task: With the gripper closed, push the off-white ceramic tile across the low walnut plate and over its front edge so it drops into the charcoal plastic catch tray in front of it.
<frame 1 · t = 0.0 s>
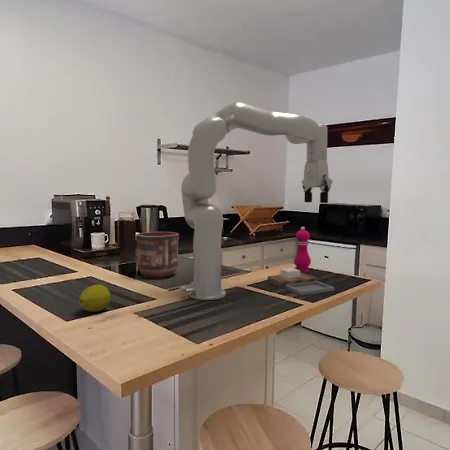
hand: (315, 202, 145), 31 cm above the counter, fingers open, 9 cm apart
pottery: (158, 276, 161), on the counter
lemon: (95, 312, 113), on the counter
catch tray: (309, 290, 136), on the counter
walnut plate: (292, 283, 146), on the counter
tile: (290, 276, 147), point 2 cm above the counter, touching walnut plate
pepper mill: (302, 271, 167), on the counter
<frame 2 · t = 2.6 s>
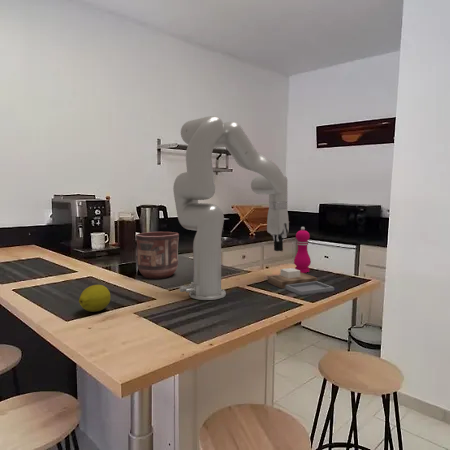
hand: (278, 250, 156), 11 cm above the counter, fingers closed
nothing on the counter moved.
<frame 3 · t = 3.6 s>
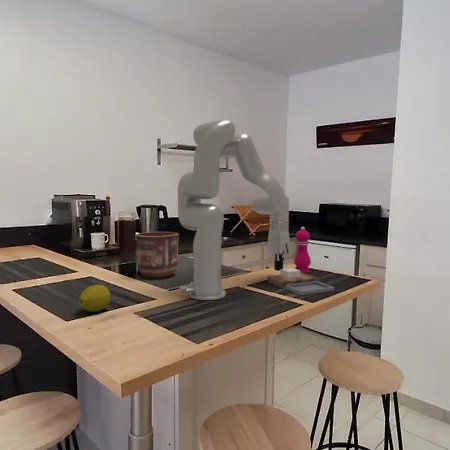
hand: (278, 270, 155), 3 cm above the counter, fingers closed
nothing on the counter moved.
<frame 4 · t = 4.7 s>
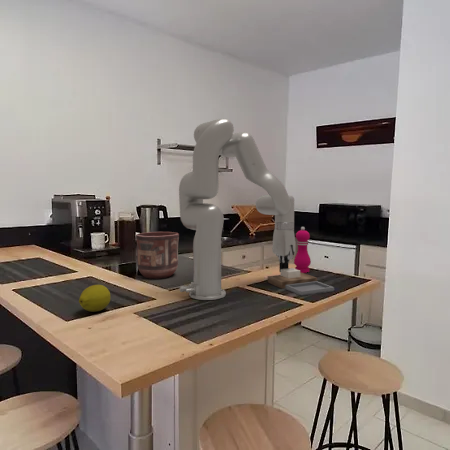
hand: (283, 272, 151), 3 cm above the counter, fingers closed
tile: (290, 276, 147), point 2 cm above the counter, touching gripper, walnut plate
everything else where it was.
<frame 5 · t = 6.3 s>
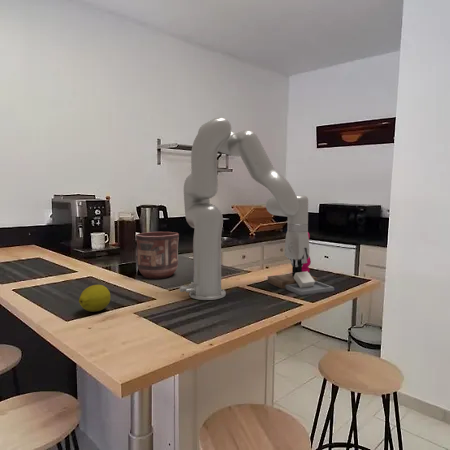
hand: (296, 276, 143), 3 cm above the counter, fingers closed
tile: (303, 281, 141), point 2 cm above the counter, tilted 31°, touching gripper
everything else where it was.
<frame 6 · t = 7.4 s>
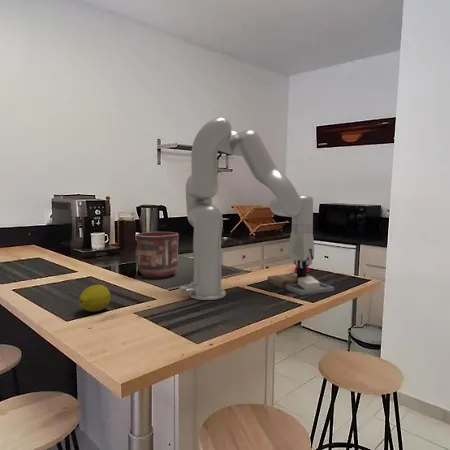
hand: (301, 277, 141), 3 cm above the counter, fingers closed
tile: (308, 286, 138), point 1 cm above the counter, tilted 11°, touching catch tray, gripper
everything else where it was.
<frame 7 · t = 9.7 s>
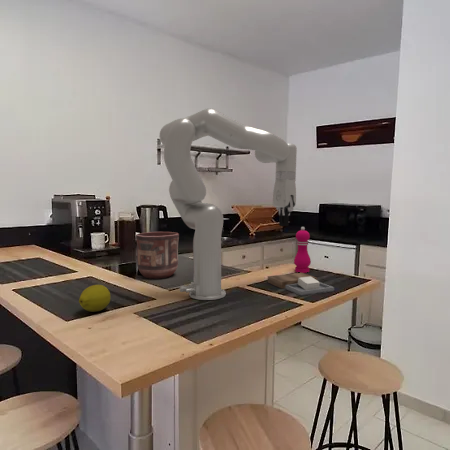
hand: (283, 225, 144), 23 cm above the counter, fingers closed
tile: (308, 286, 138), point 1 cm above the counter, tilted 11°, touching catch tray
everything else where it was.
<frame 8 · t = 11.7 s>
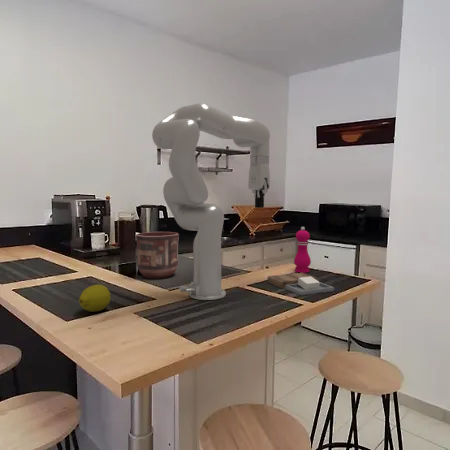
hand: (259, 207, 151), 29 cm above the counter, fingers closed
nothing on the counter moved.
at the end: tile inside the target area (1.6 cm from its centre), point 1.0 cm above the counter; pepper mill moved 0.2 cm from its start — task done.
